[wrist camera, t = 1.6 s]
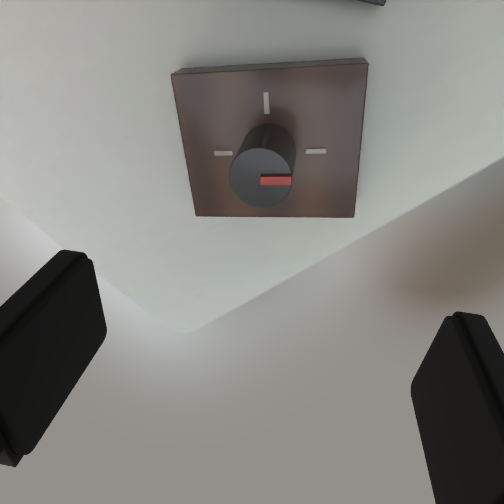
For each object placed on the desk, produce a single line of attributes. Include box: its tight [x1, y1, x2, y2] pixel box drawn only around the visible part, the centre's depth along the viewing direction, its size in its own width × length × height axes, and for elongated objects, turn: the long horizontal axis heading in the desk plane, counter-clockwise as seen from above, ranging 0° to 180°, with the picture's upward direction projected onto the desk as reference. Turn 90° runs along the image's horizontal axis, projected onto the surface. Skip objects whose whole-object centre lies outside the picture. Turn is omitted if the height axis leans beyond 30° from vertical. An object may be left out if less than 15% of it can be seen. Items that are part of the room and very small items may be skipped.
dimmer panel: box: [171, 58, 369, 218], centre depth 28 cm, size 13×11×3 cm
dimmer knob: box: [229, 124, 296, 208], centre depth 25 cm, size 4×4×5 cm
